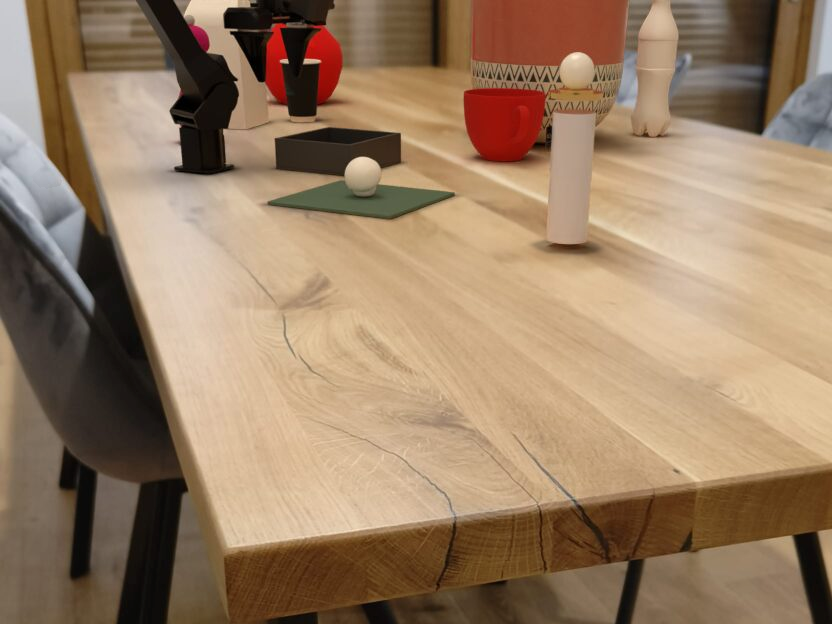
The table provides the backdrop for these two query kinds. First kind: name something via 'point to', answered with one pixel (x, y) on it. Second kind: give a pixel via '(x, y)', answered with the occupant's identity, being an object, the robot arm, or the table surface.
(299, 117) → the dixie cup
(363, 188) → the mushroom
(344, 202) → the placemat
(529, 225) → the table surface
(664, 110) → the water bottle
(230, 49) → the milk
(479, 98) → the ceramic cup
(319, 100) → the vase
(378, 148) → the black box
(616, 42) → the planter
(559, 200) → the perfume bottle
